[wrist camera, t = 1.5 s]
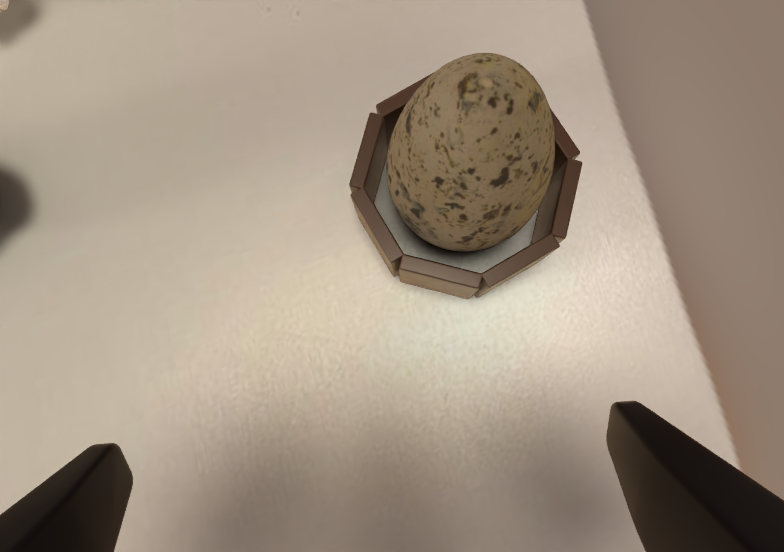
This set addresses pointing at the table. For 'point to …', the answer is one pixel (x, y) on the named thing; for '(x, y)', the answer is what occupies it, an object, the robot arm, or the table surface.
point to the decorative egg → (472, 153)
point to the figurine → (4, 4)
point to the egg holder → (442, 276)
